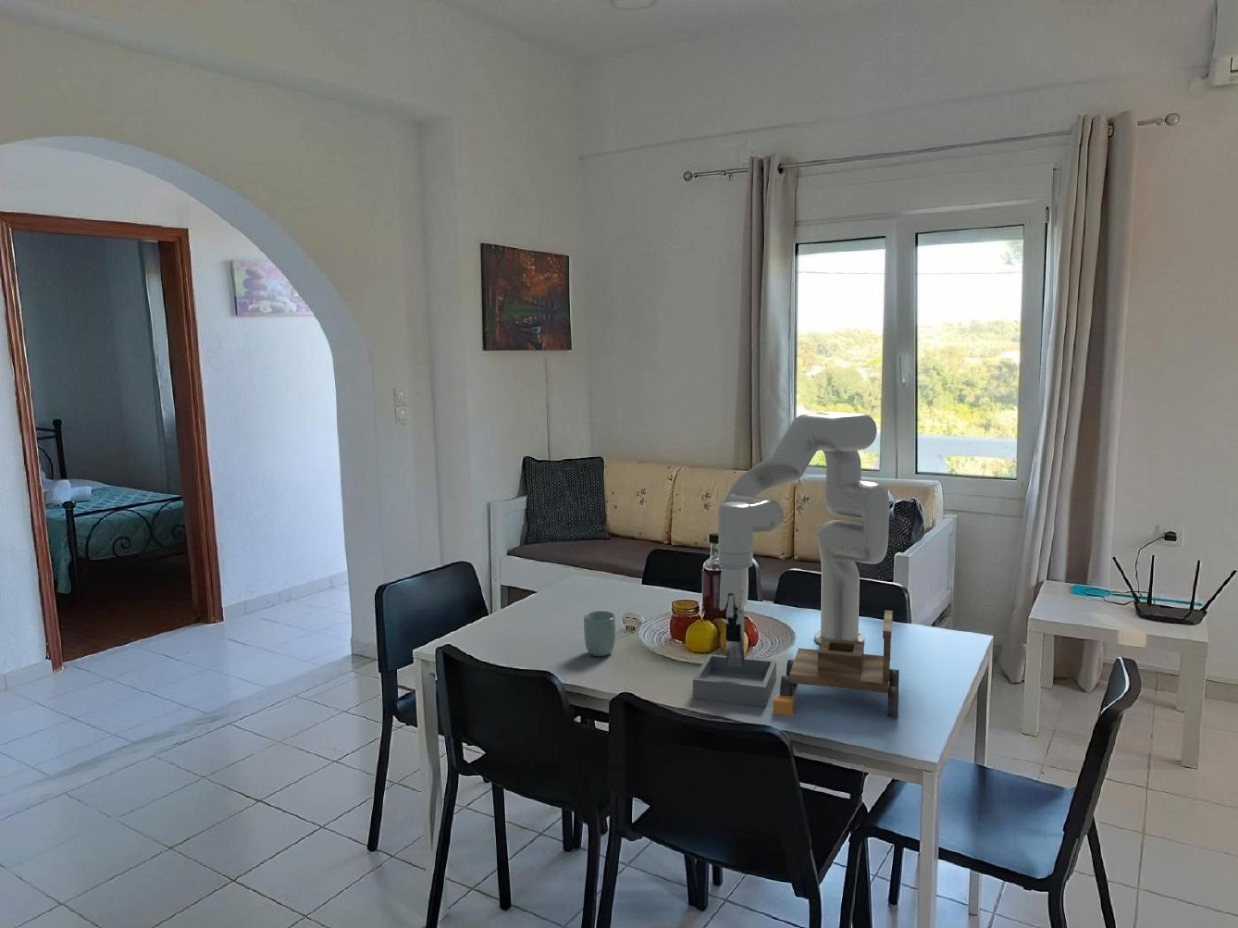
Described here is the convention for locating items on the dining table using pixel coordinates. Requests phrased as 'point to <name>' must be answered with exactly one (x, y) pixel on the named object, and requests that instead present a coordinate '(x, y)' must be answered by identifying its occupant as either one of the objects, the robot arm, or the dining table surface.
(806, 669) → the trolley
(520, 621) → the dining table surface
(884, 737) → the dining table surface
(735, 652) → the pin
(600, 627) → the cup
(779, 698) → the orange block
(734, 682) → the tray
